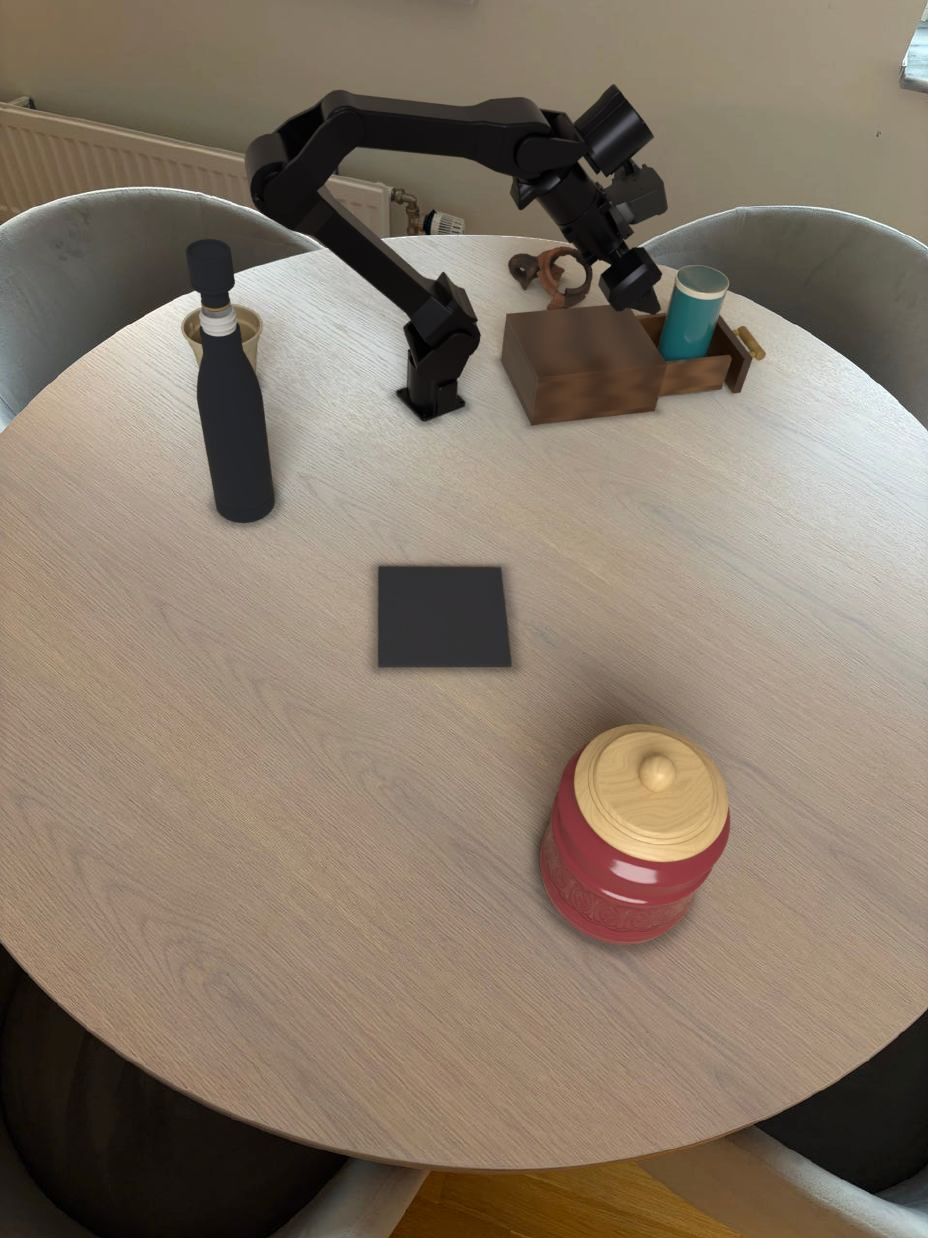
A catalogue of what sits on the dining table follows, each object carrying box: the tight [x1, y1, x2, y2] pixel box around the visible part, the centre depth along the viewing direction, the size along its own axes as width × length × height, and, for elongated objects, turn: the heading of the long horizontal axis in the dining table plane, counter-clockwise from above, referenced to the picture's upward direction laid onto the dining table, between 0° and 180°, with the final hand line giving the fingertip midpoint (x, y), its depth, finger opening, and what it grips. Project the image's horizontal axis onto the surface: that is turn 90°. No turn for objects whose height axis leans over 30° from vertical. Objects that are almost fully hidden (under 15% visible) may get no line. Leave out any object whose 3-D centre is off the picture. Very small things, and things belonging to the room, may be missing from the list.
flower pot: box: [180, 302, 264, 375], centre depth 115 cm, size 9×9×9 cm
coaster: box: [377, 566, 512, 668], centre depth 97 cm, size 13×13×1 cm
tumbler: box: [657, 264, 730, 361], centre depth 120 cm, size 6×6×12 cm
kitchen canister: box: [539, 723, 731, 946], centre depth 73 cm, size 13×13×18 cm
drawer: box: [635, 312, 767, 397], centre depth 124 cm, size 20×12×5 cm, turn 105°
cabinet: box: [500, 304, 667, 426], centre depth 121 cm, size 17×14×7 cm
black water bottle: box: [185, 238, 276, 524], centre depth 94 cm, size 6×6×30 cm
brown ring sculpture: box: [507, 245, 594, 310], centre depth 134 cm, size 12×10×8 cm
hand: (643, 289), depth 114 cm, fingers open, 9 cm apart
